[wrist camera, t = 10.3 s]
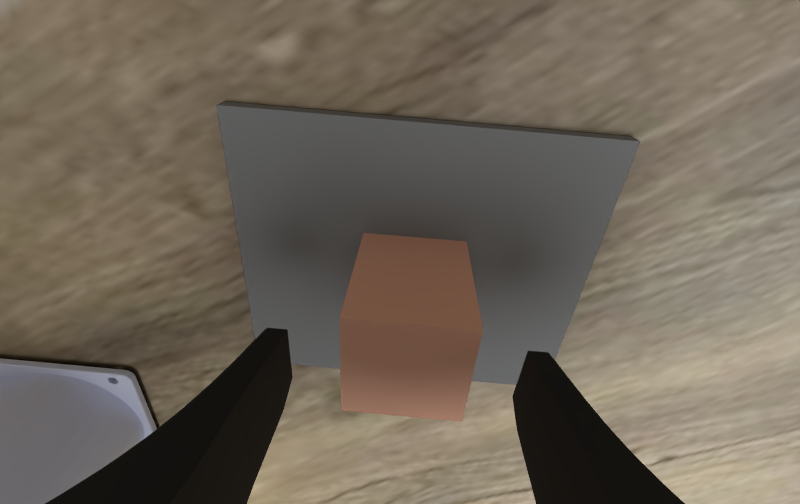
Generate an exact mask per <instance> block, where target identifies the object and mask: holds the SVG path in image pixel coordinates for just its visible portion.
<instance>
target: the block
mask: <svg viewBox="0 0 800 504" xmlns="http://www.w3.org/2000/svg"><path fill="white" fill-rule="evenodd" d="M339 319H340V370H341V411H352V412H363V413H375V414H386V415H397V416H408V417H420V418H431V419H442V420H453V421H462V419H463V414H464V410H465V406H466V402H467V397H468V393H469V389H470V385H471V380H472V376H473V372H474V368H475V363H476V359H477V355H478V351H479V346H480V342H481V338H482V334H483V327H482V322H481V316H480V311H479V305H478V300H477V295H476V289H475V284H474V278H473V273H472V268H471V262H470V257H469V251H468V246H467V241H456V240H444V239H432V238H420V237H408V236H396V235H384V234H372V233H363V236H362V240H361V243H360V247H359V251H358V254H357V258H356V261H355V265H354V268H353V272H352V275H351V279H350V283H349V286H348V290H347V293H346V297H345V300H344V304H343V308H342V311H341V315H340V318H339Z"/></svg>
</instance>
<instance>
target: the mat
mask: <svg viewBox="0 0 800 504" xmlns="http://www.w3.org/2000/svg"><path fill="white" fill-rule="evenodd" d="M216 106H217V112H218V118H219V124H220V130H221V136H222V142H223V148H224V154H225V160H226V166H227V172H228V178H229V184H230V190H231V197H232V203H233V209H234V215H235V221H236V227H237V233H238V239H239V245H240V251H241V257H242V263H243V269H244V275H245V282H246V288H247V294H248V300H249V306H250V312H251V318H252V324H253V330H254V336H255V339H256V338H257V337H258V336H259V335H260V334H261V333H262V332H263V331H264V330H265V329H266V328H278V329H288V339H289V348H290V358H291V364H296V365H306V366H317V367H328V368H339V369H340V319H339V318H340V315H341V311H342V308H343V304H344V300H345V297H346V293H347V290H348V286H349V283H350V279H351V275H352V272H353V268H354V265H355V261H356V258H357V254H358V251H359V247H360V243H361V240H362V236H363V233H372V234H384V235H396V236H408V237H420V238H432V239H444V240H456V241H467V246H468V251H469V257H470V262H471V268H472V273H473V278H474V284H475V289H476V295H477V300H478V305H479V311H480V316H481V322H482V327H483V334H482V338H481V342H480V346H479V351H478V355H477V359H476V363H475V368H474V372H473V376H472V380H471V381H480V382H491V383H502V384H513V385H517V382H518V379H519V376H520V373H521V370H522V367H523V364H524V361H525V358H526V355H527V352H528V351H539V352H548V353H549V354H550V355H551V356H552V358H553V359H554V360H555V358H556V355H557V353H558V350H559V348H560V345H561V343H562V340H563V338H564V335H565V332H566V330H567V327H568V325H569V322H570V320H571V317H572V315H573V312H574V309H575V307H576V304H577V302H578V299H579V297H580V294H581V292H582V289H583V286H584V284H585V281H586V279H587V276H588V274H589V271H590V268H591V266H592V263H593V261H594V258H595V256H596V253H597V251H598V248H599V245H600V243H601V240H602V238H603V235H604V233H605V230H606V228H607V225H608V222H609V220H610V217H611V215H612V212H613V210H614V207H615V205H616V202H617V199H618V197H619V194H620V192H621V189H622V187H623V184H624V182H625V179H626V176H627V174H628V171H629V169H630V166H631V164H632V161H633V159H634V156H635V153H636V151H637V148H638V146H639V143H640V141H639V140H637V139H635V138H634V137H631V136H620V135H608V134H597V133H585V132H573V131H562V130H550V129H538V128H527V127H515V126H504V125H492V124H480V123H469V122H457V121H446V120H434V119H422V118H411V117H399V116H387V115H376V114H364V113H353V112H341V111H329V110H318V109H306V108H295V107H283V106H271V105H260V104H248V103H237V102H225V101H224V102H222V103H220V104H217V105H216Z"/></svg>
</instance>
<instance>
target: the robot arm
mask: <svg viewBox="0 0 800 504" xmlns="http://www.w3.org/2000/svg"><path fill="white" fill-rule="evenodd" d="M291 380H292V368H291V358H290V348H289V339H288V329H278V328H266V329H265V330H264V331H263V332H262V333H261V334H260V335H259V336H258V337H257V338H256V339H255V340H254V341H253V342H252V343H251V344H250V345H249V346H248V347H247V348H246V350H245V351H244V352H243V353H242V354H241V355H240V356H239V357H238V358H237V359H236V360H235V361H234V362H233V363H232V364H231V365H230V366H229V367H228V368H226V369H225V370H224V371H223V372H222V373H221V374H220V375H219V376H218V377H217V378H216V379H215V380H214V381H213V382H212V383H211V384H210V385H209V386H208V387H206V388H205V389H204V390H203V391H202V392H201V393H200V394H199V395H197V396H196V397H195V398H194V399H193V400H192V401H191V402H189V403H188V404H187V405H186V406H185V407H184V408H183V409H181V410H180V411H179V412H178V413H177V414H175V415H174V416H173V417H172V418H170V419H169V420H168V421H167V422H165V423H164V424H163V425H162V426H160V427H159V428H158V429H157V428H156V425H155V423H154V420H153V418H152V415H151V413H150V411H149V408H148V406H147V403H146V401H145V398H144V396H143V393H142V391H141V388H140V386H139V384H138V381H137V379H136V376H135V375H134V374H133V373H132V372H130V371H128V370H121V369H110V368H99V367H89V366H78V365H67V364H56V363H45V362H34V361H24V360H13V359H2V358H0V504H247V501H248V498H249V496H250V493H251V490H252V487H253V485H254V482H255V480H256V477H257V475H258V472H259V470H260V467H261V465H262V462H263V460H264V457H265V455H266V452H267V450H268V447H269V445H270V442H271V440H272V437H273V435H274V432H275V430H276V427H277V425H278V422H279V420H280V417H281V415H282V412H283V409H284V406H285V402H286V399H287V395H288V392H289V388H290V384H291ZM513 403H514V411H515V418H516V425H517V431H518V435H519V439H520V443H521V447H522V451H523V455H524V459H525V463H526V466H527V470H528V474H529V478H530V482H531V485H532V489H533V493H534V497H535V501H536V504H685V503H684V502H682V501H681V500H680V499H679V498H678V497H677V496H676V495H675V494H674V493H673V492H671V491H670V490H669V489H668V488H667V487H666V486H665V485H664V484H663V483H662V482H661V481H660V480H659V479H658V478H657V477H656V476H655V475H654V474H653V473H652V472H651V471H650V470H649V469H648V468H647V467H646V466H645V465H644V464H642V463H641V461H640V460H639V459H638V458H637V457H636V456H635V455H634V454H633V453H632V452H631V451H630V450H629V449H628V448H627V447H626V446H625V445H624V444H623V442H622V441H621V440H620V439H619V438H618V437H617V436H616V435H615V434H614V433H613V431H612V430H611V429H610V428H609V427H608V426H607V425H606V424H605V422H604V421H603V420H602V419H601V418H600V416H599V415H598V414H597V413H596V412H595V410H594V409H593V408H592V407H591V406H590V404H589V403H588V402H587V401H586V400H585V398H584V397H583V396H582V395H581V393H580V392H579V391H578V390H577V388H576V387H575V386H574V384H573V383H572V382H571V381H570V379H569V378H568V377H567V376H566V374H565V373H564V372H563V370H562V369H561V368H560V367H559V365H558V364H557V363H556V361H555V360H554V359H553V358H552V356H551V355H550V354H549V353H548V352H539V351H528V352H527V355H526V358H525V361H524V364H523V367H522V370H521V373H520V376H519V379H518V382H517V385H516V388H515V391H514V394H513Z"/></svg>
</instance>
